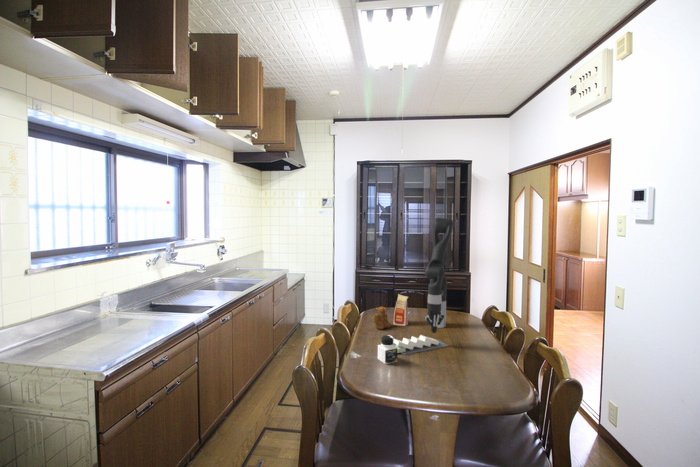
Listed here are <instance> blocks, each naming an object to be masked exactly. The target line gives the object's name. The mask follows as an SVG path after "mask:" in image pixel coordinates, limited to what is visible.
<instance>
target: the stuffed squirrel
mask: <svg viewBox="0 0 700 467" xmlns="http://www.w3.org/2000/svg"><path fill="white" fill-rule="evenodd" d="M375 309H376V310H377V312H378V313H375V314H374V315H373V316H372V317H371V320H372V321H373V322H374V324H375V328H376V329H377V330H382V331H383V329H388V328H390V327H391V326H392V323H390V322H389V320H388V318H389V317H388V314H386V313H387V309H386V307H384V306H379V307H375Z"/></svg>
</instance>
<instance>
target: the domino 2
mask: <svg viewBox="0 0 700 467" xmlns="http://www.w3.org/2000/svg"><path fill="white" fill-rule="evenodd" d="M394 346H395V347H397V354H401V352H406V348H404V347H401V346H398V345H396V344H394Z"/></svg>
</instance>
